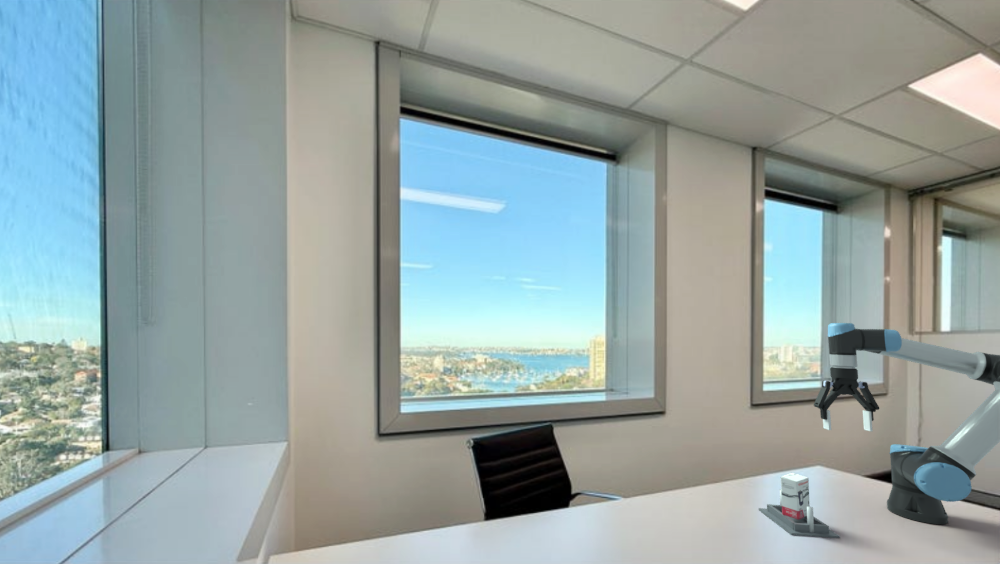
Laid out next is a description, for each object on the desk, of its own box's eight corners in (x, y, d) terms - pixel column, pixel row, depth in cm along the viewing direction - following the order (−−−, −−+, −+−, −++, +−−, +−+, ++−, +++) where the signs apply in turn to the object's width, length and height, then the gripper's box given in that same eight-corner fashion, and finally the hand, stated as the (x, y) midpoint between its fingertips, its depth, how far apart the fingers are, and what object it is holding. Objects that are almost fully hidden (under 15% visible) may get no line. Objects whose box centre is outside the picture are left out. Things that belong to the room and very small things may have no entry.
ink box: (798, 520, 133) (797, 481, 134) (781, 514, 137) (780, 476, 138) (810, 514, 138) (809, 476, 139) (793, 509, 142) (792, 472, 143)
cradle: (800, 512, 146) (799, 489, 146) (839, 538, 128) (838, 511, 129) (758, 510, 146) (757, 486, 147) (791, 535, 129) (790, 508, 129)
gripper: (871, 367, 152) (876, 428, 150) (799, 365, 153) (803, 426, 151) (889, 369, 145) (895, 433, 142) (814, 367, 146) (818, 431, 143)
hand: (847, 430), depth 147 cm, fingers open, 13 cm apart
